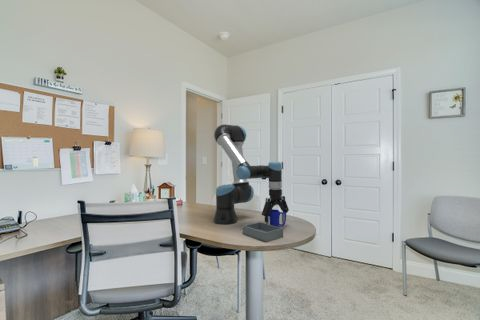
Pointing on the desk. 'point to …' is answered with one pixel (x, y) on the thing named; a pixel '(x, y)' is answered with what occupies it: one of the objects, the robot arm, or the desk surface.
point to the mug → (276, 217)
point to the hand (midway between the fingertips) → (276, 225)
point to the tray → (263, 231)
